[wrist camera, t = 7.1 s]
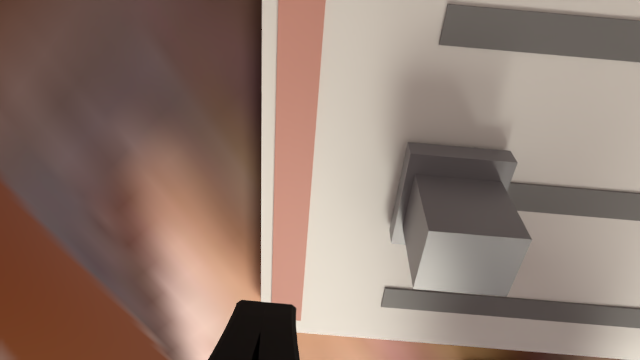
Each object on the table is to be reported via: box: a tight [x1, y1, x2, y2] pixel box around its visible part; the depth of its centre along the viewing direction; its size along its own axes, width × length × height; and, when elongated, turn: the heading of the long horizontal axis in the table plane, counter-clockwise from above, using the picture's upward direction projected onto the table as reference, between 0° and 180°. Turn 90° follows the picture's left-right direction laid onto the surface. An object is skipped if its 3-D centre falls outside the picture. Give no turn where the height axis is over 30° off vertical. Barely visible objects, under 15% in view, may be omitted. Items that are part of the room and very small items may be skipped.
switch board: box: [261, 0, 640, 360], centre depth 18 cm, size 18×26×2 cm
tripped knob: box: [389, 142, 532, 297], centre depth 15 cm, size 4×4×4 cm
